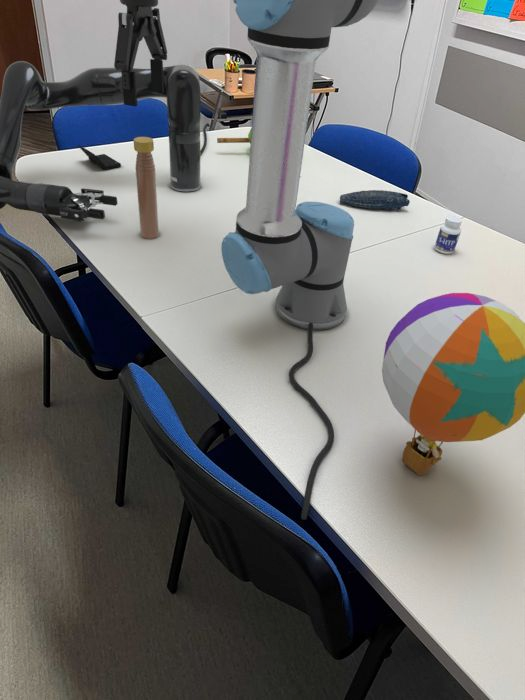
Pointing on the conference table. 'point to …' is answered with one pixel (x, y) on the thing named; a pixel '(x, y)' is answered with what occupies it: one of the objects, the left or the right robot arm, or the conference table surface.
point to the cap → (143, 144)
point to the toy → (455, 372)
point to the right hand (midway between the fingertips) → (144, 98)
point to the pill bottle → (448, 235)
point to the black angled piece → (101, 159)
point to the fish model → (376, 199)
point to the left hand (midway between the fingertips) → (110, 208)
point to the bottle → (147, 195)
